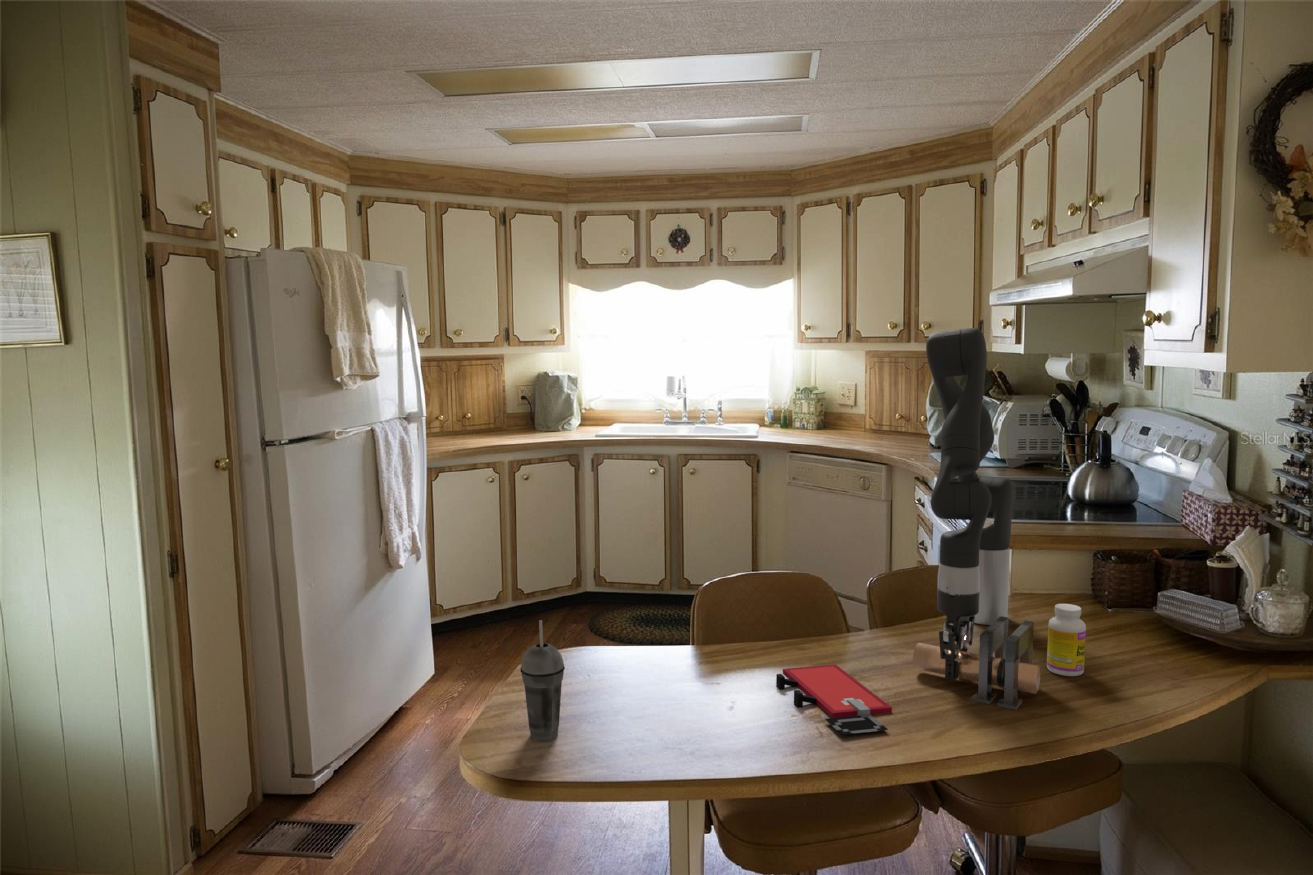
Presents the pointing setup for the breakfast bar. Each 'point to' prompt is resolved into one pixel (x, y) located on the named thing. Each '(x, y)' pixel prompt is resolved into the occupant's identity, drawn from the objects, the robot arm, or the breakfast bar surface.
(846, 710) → the red board with handle
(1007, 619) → the metal stand
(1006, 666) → the metal stand
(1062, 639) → the supplement bottle
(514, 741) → the breakfast bar surface
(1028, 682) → the tube
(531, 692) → the beverage cup
